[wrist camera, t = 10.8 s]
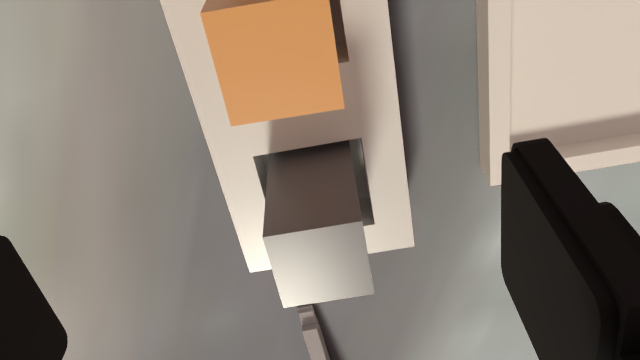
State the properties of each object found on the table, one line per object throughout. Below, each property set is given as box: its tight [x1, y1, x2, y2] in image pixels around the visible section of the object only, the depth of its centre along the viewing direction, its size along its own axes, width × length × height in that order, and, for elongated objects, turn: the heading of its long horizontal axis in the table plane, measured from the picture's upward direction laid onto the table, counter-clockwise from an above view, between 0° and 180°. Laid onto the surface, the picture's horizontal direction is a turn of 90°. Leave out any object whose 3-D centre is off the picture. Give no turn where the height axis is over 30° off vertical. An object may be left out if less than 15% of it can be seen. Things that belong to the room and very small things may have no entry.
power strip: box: [160, 0, 414, 273], centre depth 27 cm, size 9×18×4 cm, turn 10°
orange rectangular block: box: [200, 0, 345, 126], centre depth 22 cm, size 4×4×8 cm
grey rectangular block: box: [262, 140, 375, 308], centre depth 27 cm, size 4×4×8 cm
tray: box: [476, 0, 640, 186], centre depth 26 cm, size 14×14×2 cm
